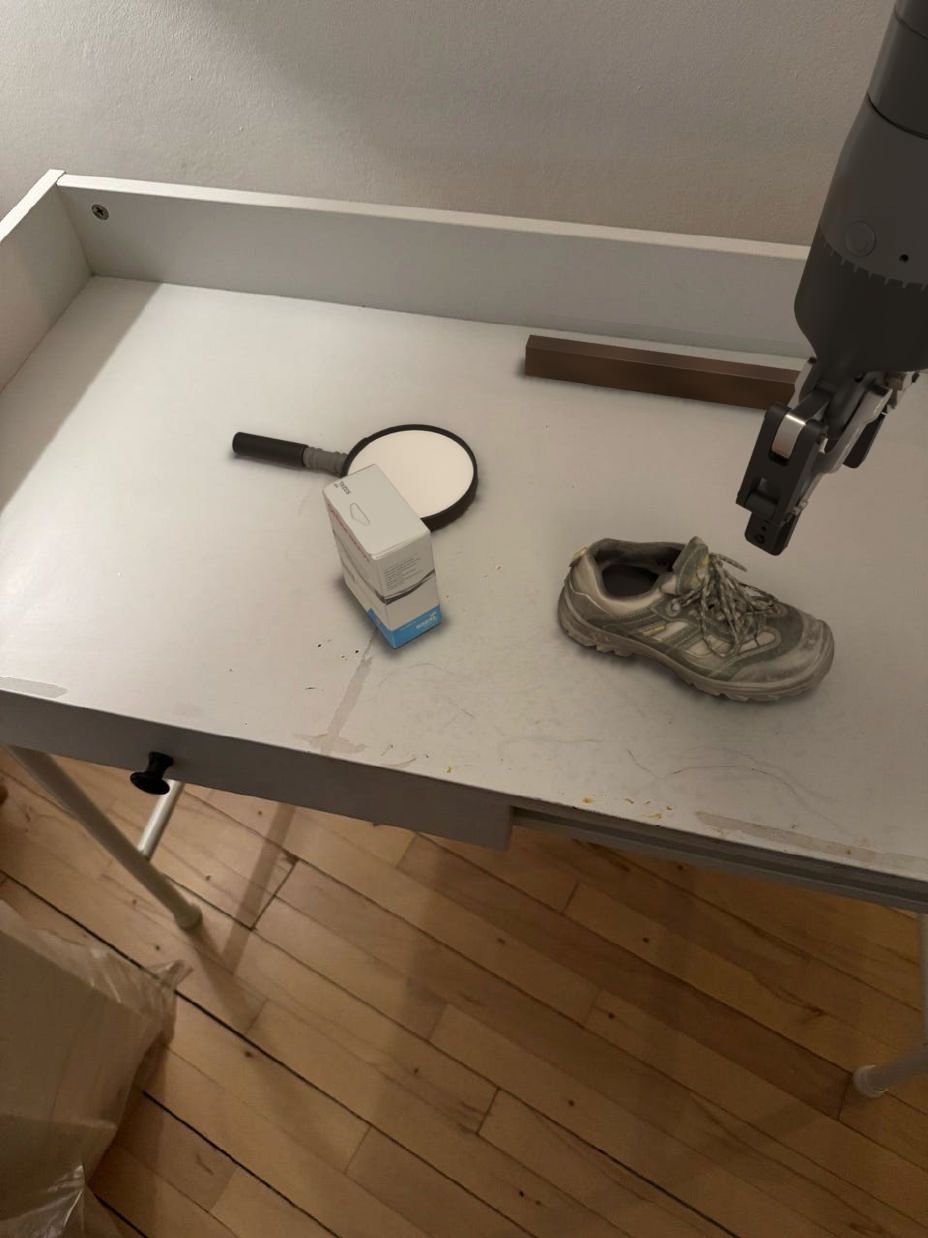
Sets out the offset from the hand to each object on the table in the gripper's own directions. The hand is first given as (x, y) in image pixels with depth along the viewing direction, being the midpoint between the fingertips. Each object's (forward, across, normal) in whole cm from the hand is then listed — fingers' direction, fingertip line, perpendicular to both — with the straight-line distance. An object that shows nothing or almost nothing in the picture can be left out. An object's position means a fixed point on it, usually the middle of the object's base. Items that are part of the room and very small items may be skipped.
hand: (804, 500), depth 47 cm
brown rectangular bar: (+21, +25, +24) cm, 40 cm away
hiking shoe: (+21, +1, +5) cm, 22 cm away
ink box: (+21, -11, +25) cm, 35 cm away
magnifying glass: (+21, -3, +39) cm, 44 cm away
